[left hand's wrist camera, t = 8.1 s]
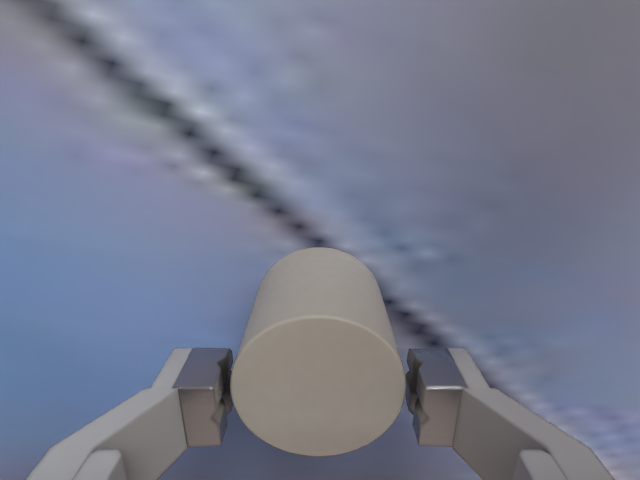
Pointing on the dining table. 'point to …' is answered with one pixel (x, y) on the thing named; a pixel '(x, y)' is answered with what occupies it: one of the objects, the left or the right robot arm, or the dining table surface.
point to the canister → (318, 357)
